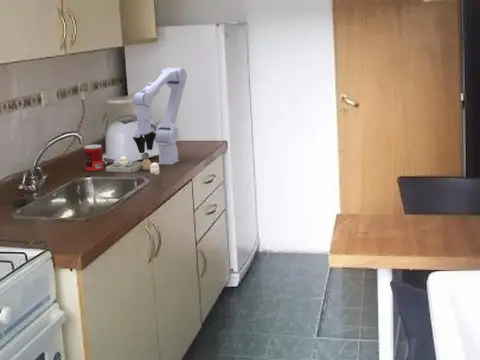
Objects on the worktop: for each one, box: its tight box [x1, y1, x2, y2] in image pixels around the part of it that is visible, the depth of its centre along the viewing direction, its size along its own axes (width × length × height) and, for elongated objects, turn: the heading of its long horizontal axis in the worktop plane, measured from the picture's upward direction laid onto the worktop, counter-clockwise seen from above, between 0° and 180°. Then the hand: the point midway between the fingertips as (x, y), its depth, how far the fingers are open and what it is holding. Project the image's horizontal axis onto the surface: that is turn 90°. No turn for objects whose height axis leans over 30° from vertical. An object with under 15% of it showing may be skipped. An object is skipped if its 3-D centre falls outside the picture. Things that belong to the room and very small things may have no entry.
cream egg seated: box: [118, 155, 129, 164], centre depth 302 cm, size 4×4×5 cm
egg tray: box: [105, 161, 143, 174], centre depth 298 cm, size 13×13×2 cm
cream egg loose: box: [149, 162, 160, 176], centre depth 289 cm, size 4×4×5 cm
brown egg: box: [141, 158, 152, 171], centre depth 297 cm, size 4×4×5 cm
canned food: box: [83, 144, 104, 172], centre depth 299 cm, size 8×8×11 cm
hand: (145, 151), depth 296 cm, fingers open, 7 cm apart
